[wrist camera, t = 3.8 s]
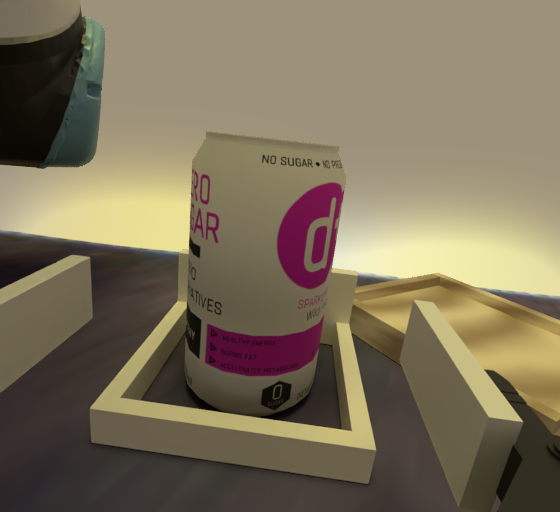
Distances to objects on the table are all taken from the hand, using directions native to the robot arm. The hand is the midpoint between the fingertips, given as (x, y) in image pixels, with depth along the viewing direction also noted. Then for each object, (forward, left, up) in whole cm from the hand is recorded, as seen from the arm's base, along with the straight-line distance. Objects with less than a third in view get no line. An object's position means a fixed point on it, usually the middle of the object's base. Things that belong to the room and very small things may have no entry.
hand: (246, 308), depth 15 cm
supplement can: (-6, +4, -9) cm, 11 cm away
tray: (-2, +23, -8) cm, 25 cm away
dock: (-6, +4, -8) cm, 11 cm away
